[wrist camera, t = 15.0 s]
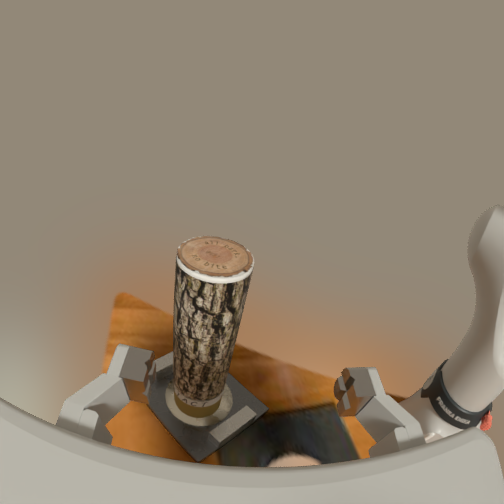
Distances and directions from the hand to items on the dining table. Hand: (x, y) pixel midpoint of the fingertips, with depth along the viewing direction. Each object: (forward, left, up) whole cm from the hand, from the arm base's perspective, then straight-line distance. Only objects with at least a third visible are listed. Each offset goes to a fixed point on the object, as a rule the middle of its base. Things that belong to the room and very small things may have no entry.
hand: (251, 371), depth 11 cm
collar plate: (+12, -9, -30) cm, 33 cm away
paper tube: (+12, -8, -28) cm, 32 cm away
